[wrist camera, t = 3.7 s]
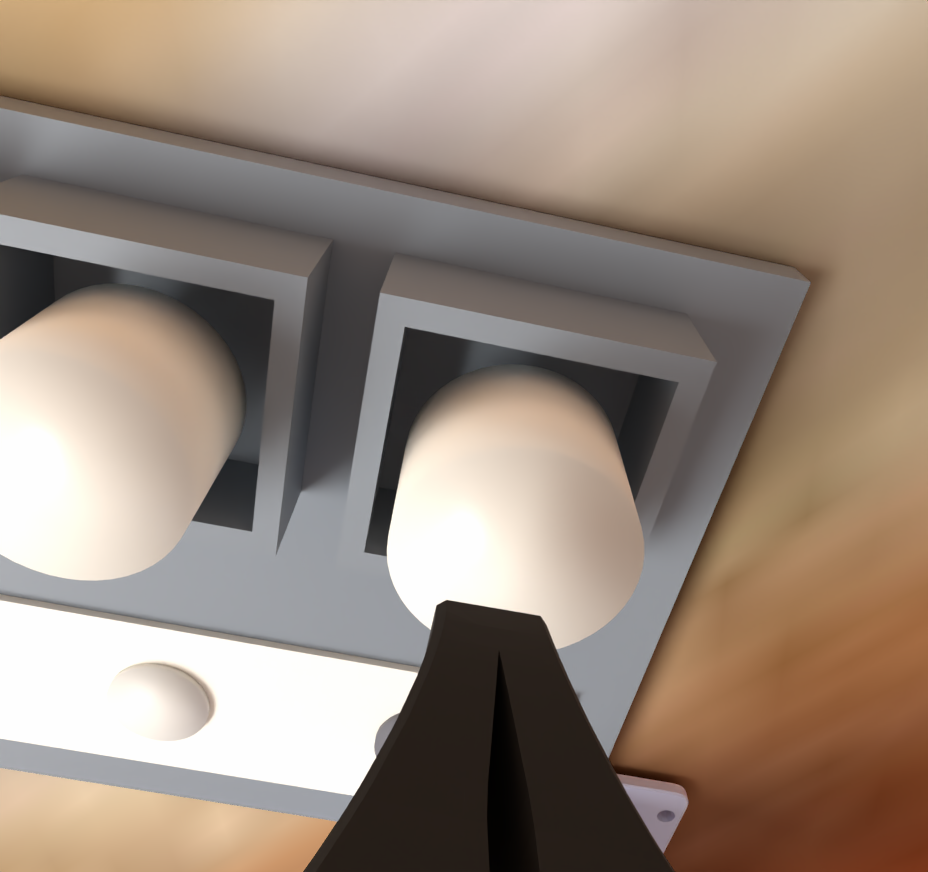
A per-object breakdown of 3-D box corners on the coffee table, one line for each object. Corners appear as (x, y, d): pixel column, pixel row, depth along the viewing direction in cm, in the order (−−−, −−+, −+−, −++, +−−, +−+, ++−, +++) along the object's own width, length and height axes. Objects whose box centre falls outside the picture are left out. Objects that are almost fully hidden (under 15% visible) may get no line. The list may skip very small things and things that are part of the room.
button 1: (584, 564, 16) (602, 673, 14) (389, 528, 16) (369, 631, 13) (645, 388, 14) (679, 475, 12) (425, 344, 14) (410, 422, 11)
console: (563, 827, 25) (573, 940, 22) (-249, 696, 23) (-359, 799, 20) (793, 267, 16) (861, 327, 13) (-463, -5, 15) (-708, -6, 12)
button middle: (238, 499, 16) (188, 599, 13) (31, 461, 16) (-63, 556, 13) (254, 309, 14) (199, 381, 11) (18, 261, 14) (-95, 324, 11)
